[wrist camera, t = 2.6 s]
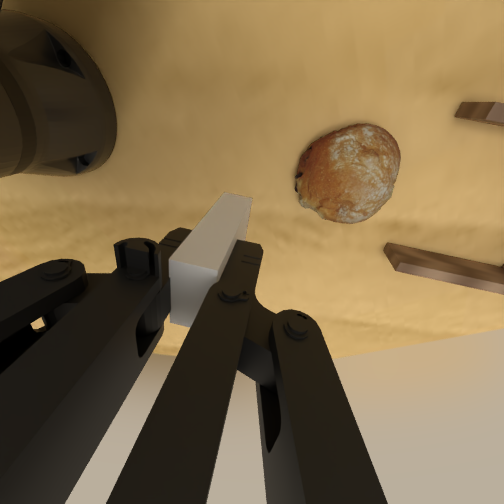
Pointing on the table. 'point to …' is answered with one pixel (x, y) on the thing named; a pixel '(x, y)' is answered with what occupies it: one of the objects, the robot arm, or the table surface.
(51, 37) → the robot arm
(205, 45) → the table surface
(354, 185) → the bread roll
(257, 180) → the table surface
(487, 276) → the corral
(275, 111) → the table surface
